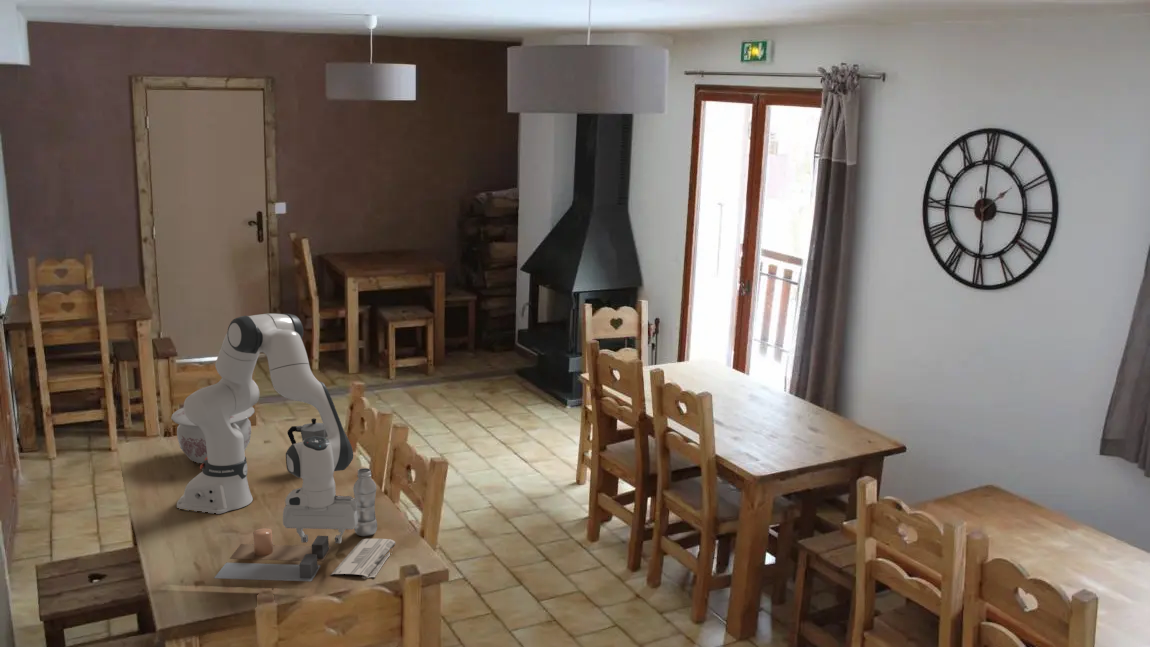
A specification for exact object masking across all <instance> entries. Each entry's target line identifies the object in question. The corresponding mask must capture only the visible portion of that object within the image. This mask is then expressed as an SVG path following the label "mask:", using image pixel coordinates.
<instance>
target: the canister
mask: <svg viewBox="0 0 1150 647" xmlns="http://www.w3.org/2000/svg"><path fill="white" fill-rule="evenodd" d="M252 536H253V537H252V538H253V544H254V553H255V555H257V556H266V555H269V554H271V553H272V552H273V545H274V542H273V530H272V528H266V527H264V528H258V529H255V530H254V531H253V535H252Z"/></svg>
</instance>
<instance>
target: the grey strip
mask: <svg viewBox="0 0 1150 647" xmlns="http://www.w3.org/2000/svg"><path fill="white" fill-rule="evenodd" d="M320 568H321V565H319V564H318V561H317V554H306V555H305V556H304V558H303V559H302V561H300V562H299V564H284V563H258V562H257V563H255V562H252V563H251V562H226V563H224V565H223V566H222V567H221V569H220V570H219V571H218V572H217V574H216V575H215V576H214V577H213V579H226V580H227V579H228V580H254V581H257V580H258V581H260V580H261V581H288V582H291V581H293V582H312V581H313V579H314V578H315V577H316V574H317V573H318V572H319V571H320V570H319V569H320Z"/></svg>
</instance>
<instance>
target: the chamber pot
mask: <svg viewBox="0 0 1150 647" xmlns="http://www.w3.org/2000/svg"><path fill="white" fill-rule="evenodd" d="M254 414H255V408H254V407H253V406H252V407H250V408H249V409H247V410H246V411H244V412H241V413H238V414H236V415H233V416H230V424H231V427H232V428H235V429H237V430H239V431H240V432H241V433H242V434H243V437H244V452H245V451H246V449H247V448H248V446H249V443H250V440H251V437H252V436H251V434H252V423H251V422H252V421H251V420H250V419H249V418H250V417H252V416H253V415H254ZM170 419H171V420H172V422H174V423H175V424H177V427H176V428H177V429H176V436H177V437H176V438H177V441H178V444H179V448H180V449H181V451H183V453H184V454H185V455H186V457H187V458H188V459H189V460H190V461H191V460H192V462H193V461H194V462H193V463H195V462H197V463H196V464H199V463H202V462H203V461H205V458H206V457H207V449H206V441H205V437H204V434H203V432H202V431H201V429H200V428H199V427H198V426H197V425H195V424H193V423H192V422H190V421H189V420H188V418H187V417H186V415H185V412H184V406H183V407H181V408H179V409H177V410H176V411H174V412H173V413H172V414H171V418H170Z"/></svg>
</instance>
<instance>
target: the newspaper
mask: <svg viewBox="0 0 1150 647" xmlns="http://www.w3.org/2000/svg"><path fill="white" fill-rule="evenodd" d="M395 545H396V541H395V540H393V539H390V538H389V539H388V538H362V539H361V540H360V541H358V542H357V544H356V545H355V546H354V547H353V549H352V550H350V552H349V553H348V554H347V556H345V557H344V559H343V560H342V561H340V563H339V564H338V565H337V566H336V568H335V569H334V570H333V571H332V573H331V574H330V575H329V576H333V575H344V574H345V575H359V576H362V577H361V579H363V580H366V579H368V578H375V577H377V574H379V572H380V570H381V569H382V567H383V565H384V564H385V562H386V561H387V559H388V558H389V557H390V556H391V555H390V552H389V550H390V549H391V548H392V547H393V548H394V546H395ZM393 548H392V549H393ZM388 552H389V553H388ZM387 553H388V554H387ZM386 554H387V555H386ZM385 555H386V556H385Z"/></svg>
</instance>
